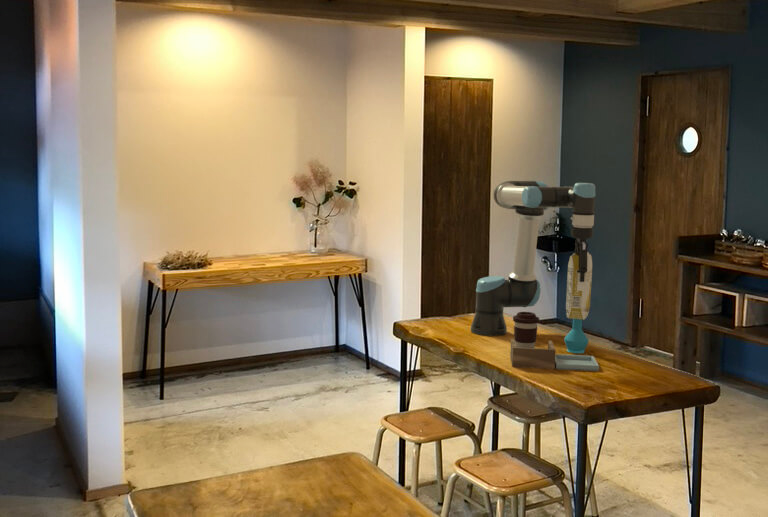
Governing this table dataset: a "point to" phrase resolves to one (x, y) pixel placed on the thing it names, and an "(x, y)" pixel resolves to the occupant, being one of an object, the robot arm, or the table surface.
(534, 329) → the coffee cup
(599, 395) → the table surface
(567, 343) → the perfume bottle
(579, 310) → the juice carton
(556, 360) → the tray
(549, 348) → the bay
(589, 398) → the table surface
